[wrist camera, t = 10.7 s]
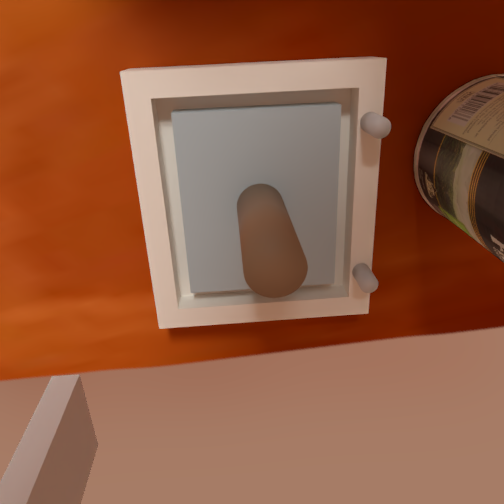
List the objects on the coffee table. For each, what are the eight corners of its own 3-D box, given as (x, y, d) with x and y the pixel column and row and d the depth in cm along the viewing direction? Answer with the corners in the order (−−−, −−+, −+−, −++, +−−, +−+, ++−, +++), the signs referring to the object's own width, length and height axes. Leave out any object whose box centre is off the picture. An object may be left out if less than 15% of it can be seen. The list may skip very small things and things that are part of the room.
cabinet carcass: (129, 68, 28) (112, 74, 24) (371, 56, 29) (399, 59, 24) (163, 306, 35) (155, 345, 31) (357, 292, 36) (377, 329, 32)
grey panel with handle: (173, 109, 28) (149, 145, 19) (335, 101, 29) (393, 132, 19) (191, 282, 33) (180, 380, 24) (329, 273, 34) (372, 366, 24)
